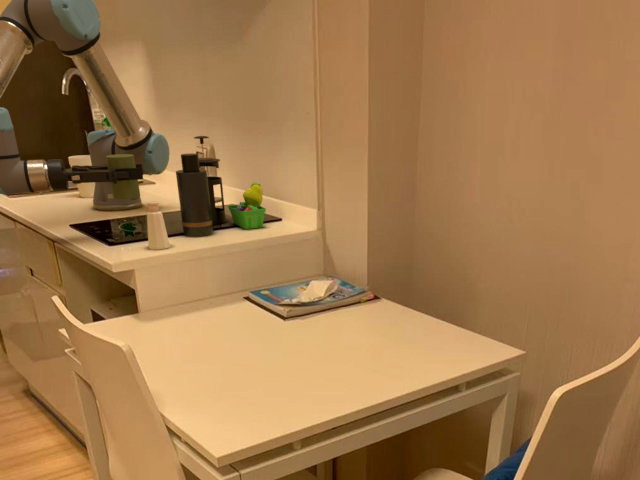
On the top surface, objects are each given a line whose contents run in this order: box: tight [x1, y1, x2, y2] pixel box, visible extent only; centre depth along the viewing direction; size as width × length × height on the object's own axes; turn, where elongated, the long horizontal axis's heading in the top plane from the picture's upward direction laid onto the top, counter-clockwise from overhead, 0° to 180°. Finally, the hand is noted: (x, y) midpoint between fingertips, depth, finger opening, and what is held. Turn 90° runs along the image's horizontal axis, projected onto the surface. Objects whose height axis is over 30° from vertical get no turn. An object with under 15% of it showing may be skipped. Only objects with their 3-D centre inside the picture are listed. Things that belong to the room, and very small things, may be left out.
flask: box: [175, 152, 214, 238], centre depth 185 cm, size 8×8×20 cm
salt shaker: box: [146, 200, 171, 251], centre depth 173 cm, size 5×5×11 cm
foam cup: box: [67, 154, 95, 198], centre depth 245 cm, size 10×9×13 cm
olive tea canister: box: [106, 154, 141, 199], centre depth 180 cm, size 7×7×10 cm
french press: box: [193, 135, 227, 226], centre depth 199 cm, size 12×9×23 cm
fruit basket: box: [227, 182, 267, 230], centre depth 196 cm, size 11×9×11 cm
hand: (142, 171), depth 180 cm, fingers closed on olive tea canister, 7 cm apart
